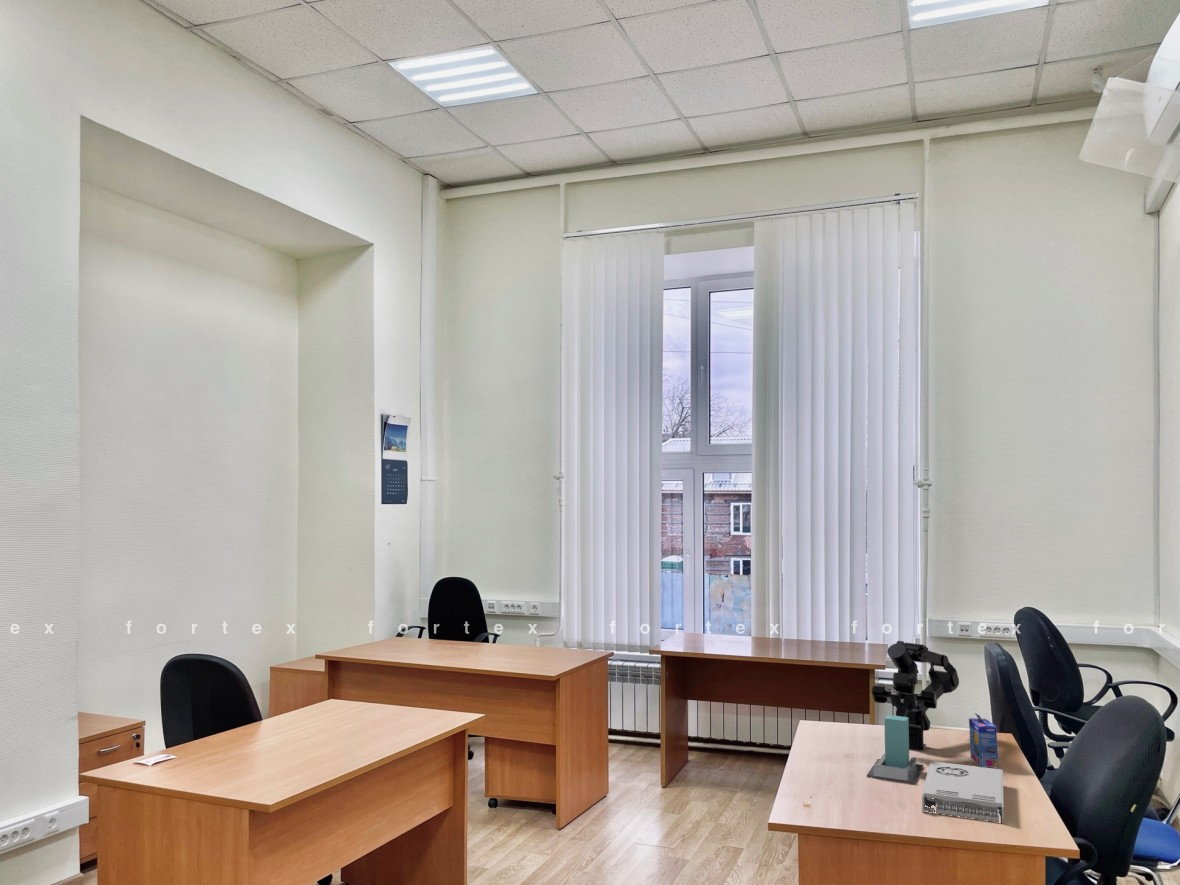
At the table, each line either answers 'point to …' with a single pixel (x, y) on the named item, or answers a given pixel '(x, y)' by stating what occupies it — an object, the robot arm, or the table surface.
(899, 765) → the block
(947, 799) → the power supply unit
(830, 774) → the table surface
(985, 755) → the ink cartridge box
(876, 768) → the chute
